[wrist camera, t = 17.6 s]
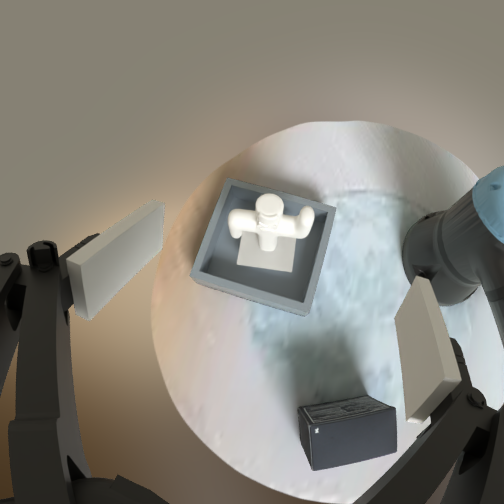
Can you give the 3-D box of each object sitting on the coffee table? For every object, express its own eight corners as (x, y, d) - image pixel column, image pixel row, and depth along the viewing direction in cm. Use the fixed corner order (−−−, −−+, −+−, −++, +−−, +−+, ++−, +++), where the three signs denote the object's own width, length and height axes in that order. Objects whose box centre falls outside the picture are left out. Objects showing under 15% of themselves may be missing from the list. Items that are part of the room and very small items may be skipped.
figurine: (239, 222, 48) (229, 169, 33) (303, 231, 47) (318, 181, 32) (230, 269, 46) (215, 233, 31) (297, 279, 45) (313, 246, 30)
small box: (300, 448, 39) (310, 474, 29) (296, 406, 41) (306, 423, 31) (371, 434, 39) (398, 454, 29) (369, 393, 41) (396, 405, 30)
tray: (329, 221, 48) (336, 207, 43) (304, 316, 44) (309, 312, 39) (230, 193, 50) (227, 177, 45) (197, 283, 46) (189, 275, 41)
